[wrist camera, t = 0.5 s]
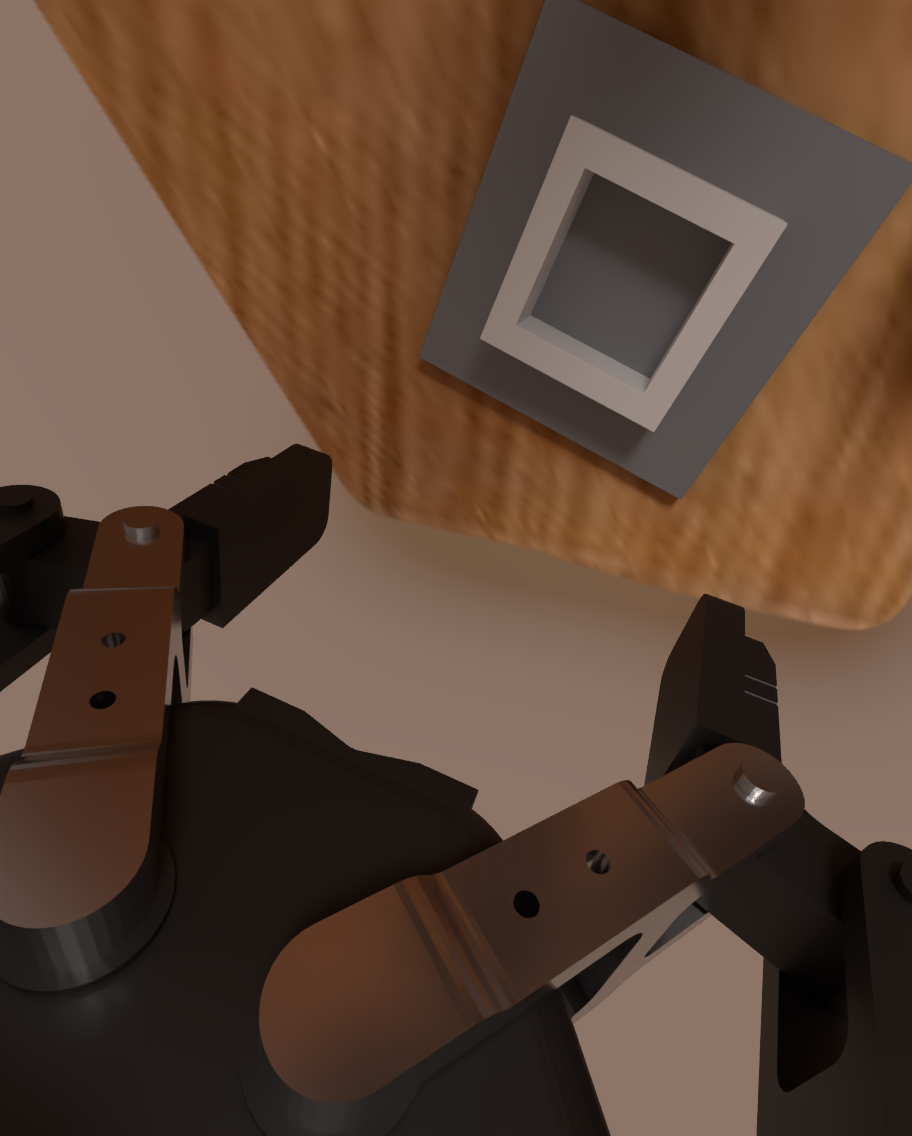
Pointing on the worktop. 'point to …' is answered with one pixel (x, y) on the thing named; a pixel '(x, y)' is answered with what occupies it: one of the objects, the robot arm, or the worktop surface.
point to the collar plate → (649, 244)
